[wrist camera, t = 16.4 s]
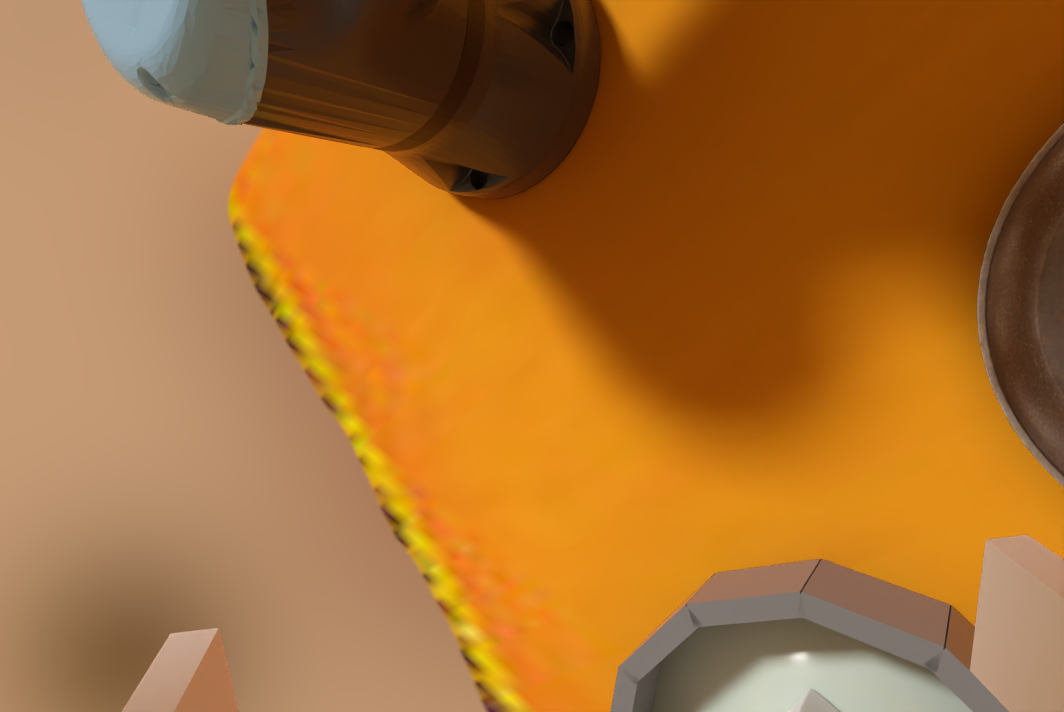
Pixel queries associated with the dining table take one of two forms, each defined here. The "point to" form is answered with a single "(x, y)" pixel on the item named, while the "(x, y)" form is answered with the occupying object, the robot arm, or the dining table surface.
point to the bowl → (804, 647)
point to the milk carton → (812, 703)
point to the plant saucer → (1028, 306)
